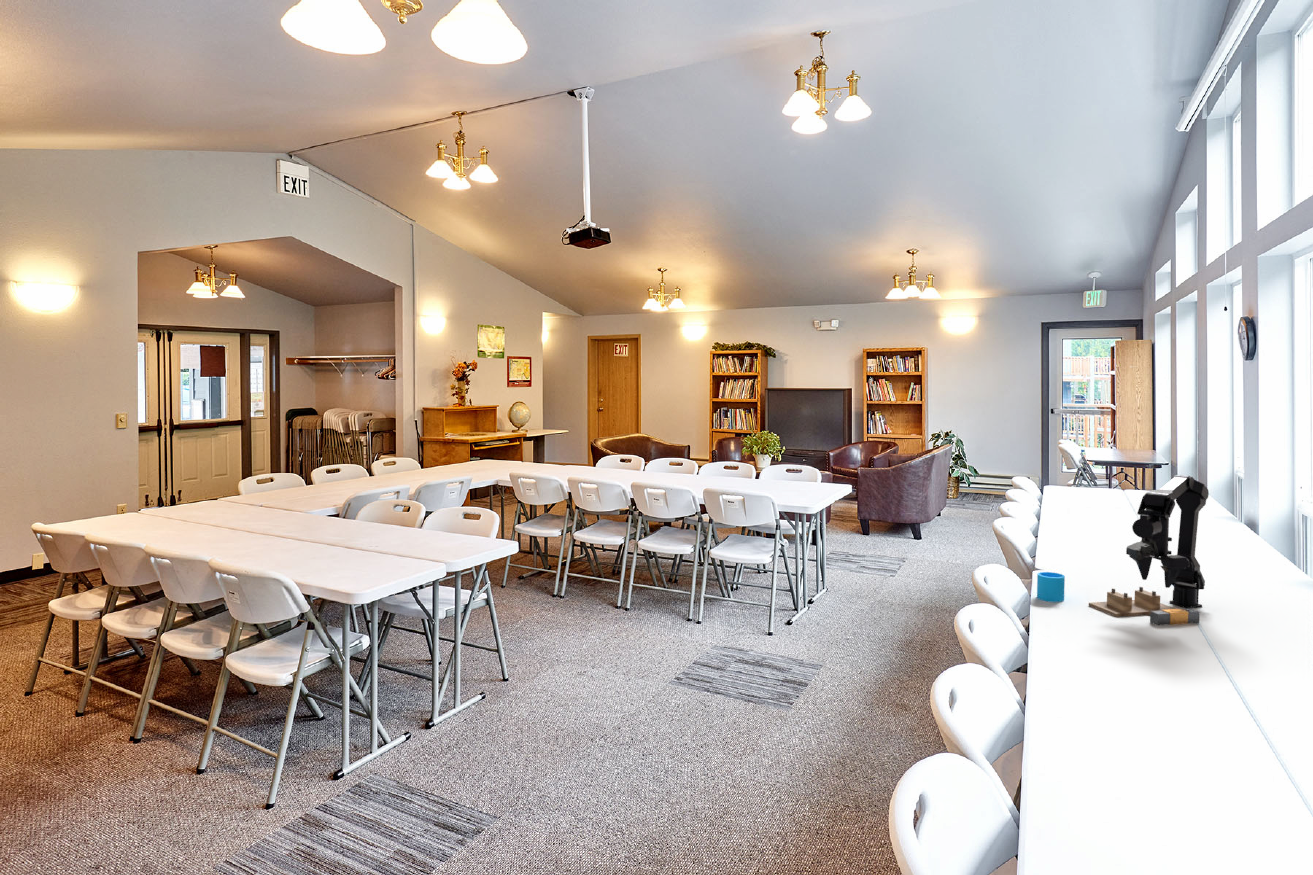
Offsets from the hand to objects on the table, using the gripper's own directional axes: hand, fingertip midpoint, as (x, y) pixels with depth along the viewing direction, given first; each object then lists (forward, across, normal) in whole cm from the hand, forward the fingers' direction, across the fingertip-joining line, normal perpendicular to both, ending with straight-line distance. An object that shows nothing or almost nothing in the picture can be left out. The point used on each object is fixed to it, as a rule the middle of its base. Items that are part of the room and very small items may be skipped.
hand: (1155, 583), depth 231 cm
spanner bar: (+11, +4, +3) cm, 12 cm away
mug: (+11, -26, -16) cm, 33 cm away
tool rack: (+11, -10, 0) cm, 15 cm away
